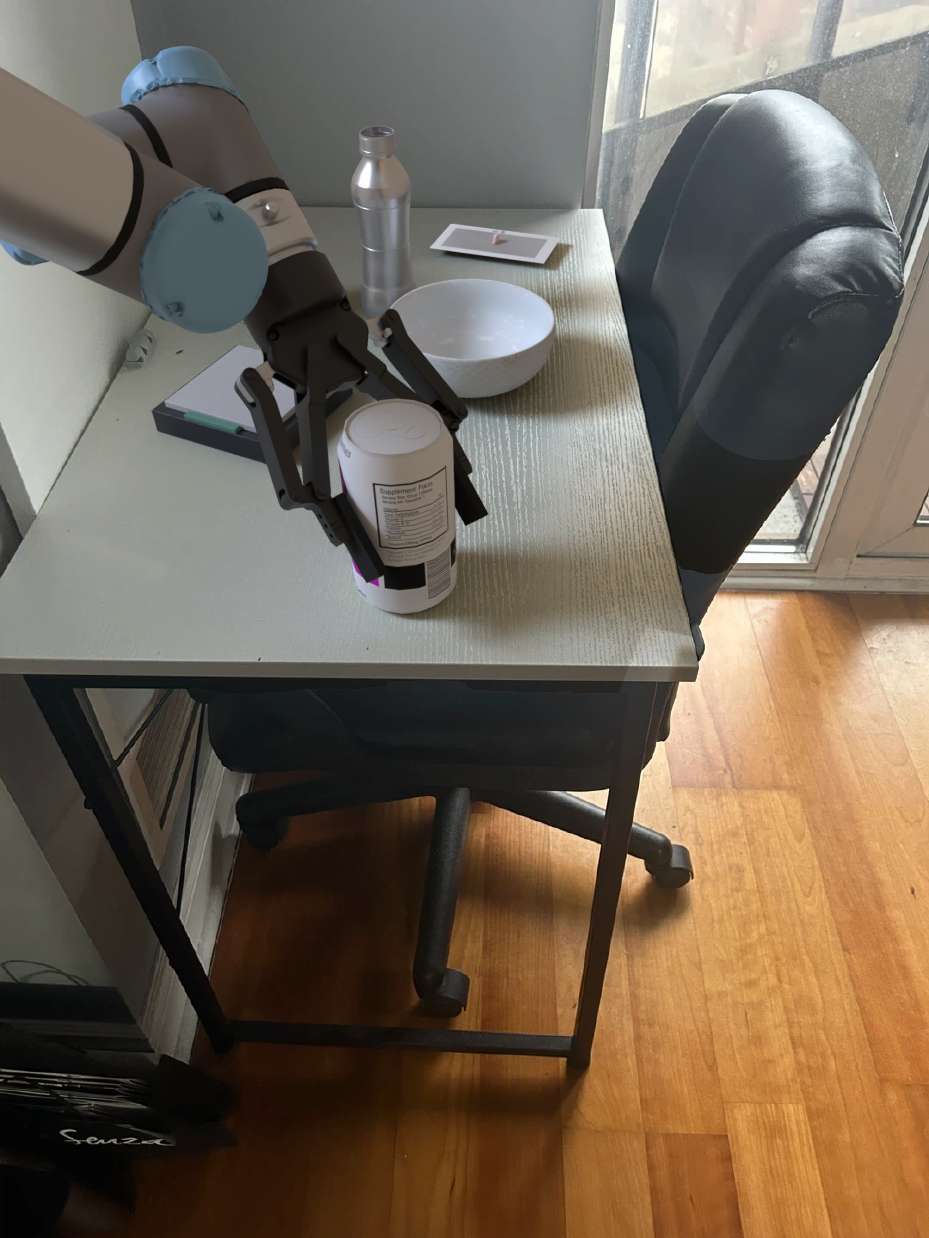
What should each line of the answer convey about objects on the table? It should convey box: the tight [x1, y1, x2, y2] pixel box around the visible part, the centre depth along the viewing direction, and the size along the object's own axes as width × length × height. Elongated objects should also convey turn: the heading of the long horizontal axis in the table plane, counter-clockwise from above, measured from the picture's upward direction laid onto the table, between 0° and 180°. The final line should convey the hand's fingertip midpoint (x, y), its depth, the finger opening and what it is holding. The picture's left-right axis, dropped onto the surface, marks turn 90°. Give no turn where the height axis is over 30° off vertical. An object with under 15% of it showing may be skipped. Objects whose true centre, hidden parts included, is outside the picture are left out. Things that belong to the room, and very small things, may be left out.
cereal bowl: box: [390, 278, 557, 399], centre depth 96 cm, size 17×17×7 cm
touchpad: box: [429, 223, 562, 265], centre depth 120 cm, size 8×15×2 cm, turn 70°
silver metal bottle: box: [350, 125, 418, 319], centre depth 101 cm, size 6×7×20 cm
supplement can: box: [336, 399, 458, 615], centre depth 71 cm, size 8×8×15 cm
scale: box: [151, 344, 354, 464], centre depth 94 cm, size 14×14×3 cm
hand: (428, 548), depth 70 cm, fingers open, 9 cm apart
